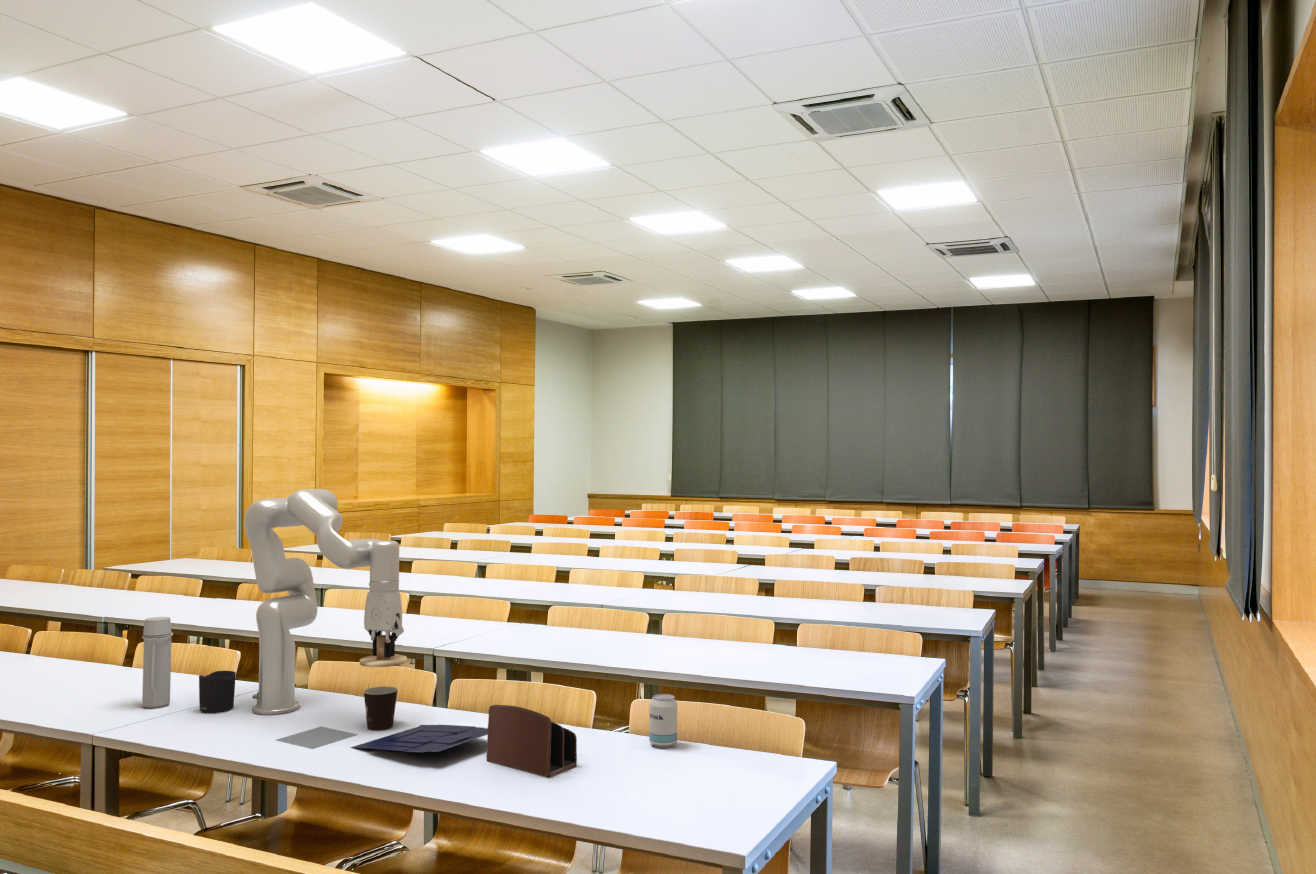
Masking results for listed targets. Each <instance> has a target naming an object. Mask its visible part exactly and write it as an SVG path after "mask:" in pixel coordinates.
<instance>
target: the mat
mask: <svg viewBox="0 0 1316 874" xmlns="http://www.w3.org/2000/svg"><path fill="white" fill-rule="evenodd" d="M358 735H359V734H357V733H353V732H349V731H345V730H340V729H334V728H330V727H325V726H318V727H314V728H311V729H308V730H304V731H300V732H297V733H293V734H290V735H287V736H283V737H281V738H276V739H275V741H277V742H281V743H286V744H291V745H293V746H297V747H303V748H307V749H310V750H314V749H317V748H320V747H324V746H326V745H331V744H333V743H336V742H339V741H342V740H345V739H349V738H352V737H356V736H358Z"/></svg>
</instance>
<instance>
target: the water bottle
mask: <svg viewBox="0 0 1316 874" xmlns="http://www.w3.org/2000/svg"><path fill="white" fill-rule="evenodd" d="M171 623H172V622H171V617H170V616H155V617H154V616H153V617H147V618H145V620H144V625H143V631H142V636H141V638H142V639H143V657H142V658H143V659H142V660H143V661H142V663H143V664H142V697H141V700H142V701H141V705H142V707H143V708H145V709H156V708H157V709H159V708H163V707H166V706H167V705H169V704H170V703H171V680H172V679H171V676H172V675H171V674H172V673H171V671H172V669H171V668H172V667H171V665H172V636H174V632H172V625H171Z"/></svg>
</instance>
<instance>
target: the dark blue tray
mask: <svg viewBox="0 0 1316 874" xmlns="http://www.w3.org/2000/svg"><path fill="white" fill-rule="evenodd" d="M485 736H488V727H487V728H486V727H479V726H478V727H477V726H475V725H473V726H472V725H458V724H457V725H454V724H420V725H418V726H416V727H415V726H414V727H413V728H409V729H405V730H403V731H399V732H396V733H393V734H389V735H386V736H382V737H380V738H377V739H373V740H370V741H369V740H368V741H367V742H363V743H360V744H357V745H354V746H350V748H352V749H372V750H384V751H385V750H386V751H387V750H388V751H400V752H404V753H406V752H408V753H425V752H432V753H433V752H434V753H438V752H441V751H445V750H447V749H450V748H452V747H453V748H454V747H456V746H459V745H461V744H464V743H467V742H470V741H473V740H476V739H478V738H482V737H485Z"/></svg>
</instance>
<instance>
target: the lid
mask: <svg viewBox="0 0 1316 874" xmlns="http://www.w3.org/2000/svg"><path fill="white" fill-rule="evenodd" d="M385 642H386V636H385V634H382V635H378V636H377V656H373V654H372V655H368V656H364V657H362V658H360V659H359V665H360V666H363V667H367V668H386V667H387V668H388V667H396V666H400V665H403V664H406V663H407V660H408V657H407V655H403V654H396V653H395V655H394V656H393V657H388V658H385V657H384V643H385Z"/></svg>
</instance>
